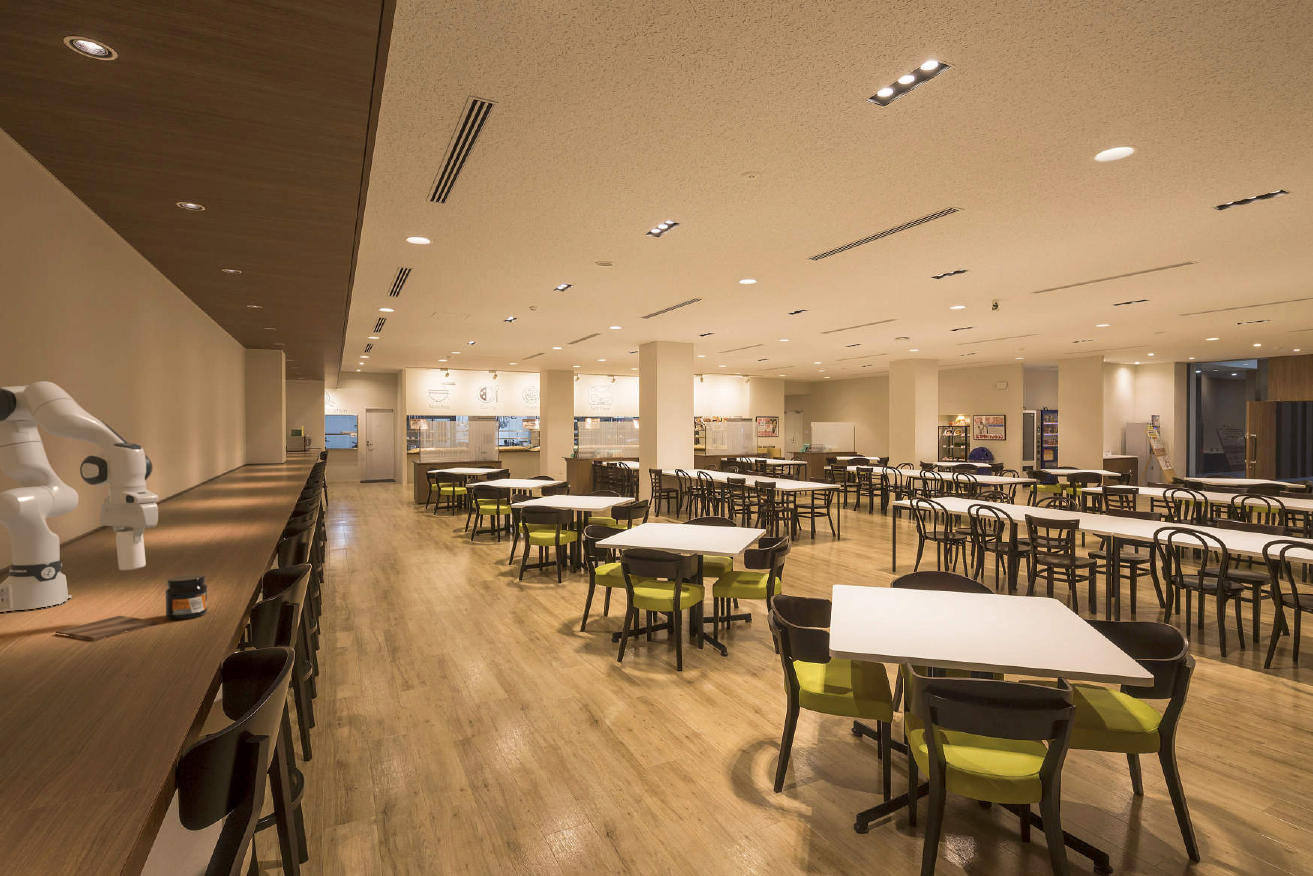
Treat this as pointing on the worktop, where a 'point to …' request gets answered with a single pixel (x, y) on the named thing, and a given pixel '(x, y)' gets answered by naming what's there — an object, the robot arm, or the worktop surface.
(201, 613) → the supplement container
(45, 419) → the robot arm
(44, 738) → the worktop surface
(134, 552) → the can
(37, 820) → the worktop surface
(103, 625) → the walnut board
